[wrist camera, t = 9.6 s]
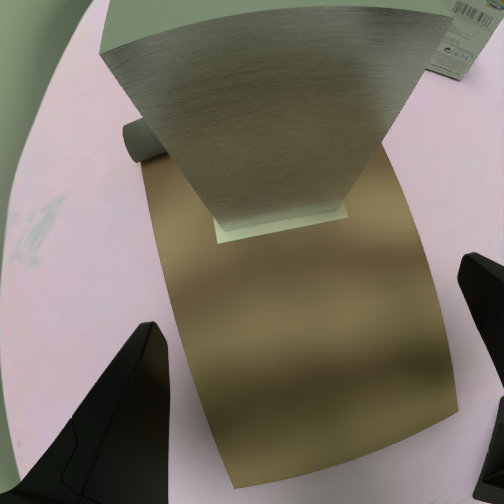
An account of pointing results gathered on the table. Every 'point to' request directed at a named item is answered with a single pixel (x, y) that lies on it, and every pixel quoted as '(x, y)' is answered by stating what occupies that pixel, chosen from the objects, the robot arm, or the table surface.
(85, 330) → the table surface
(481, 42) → the ink cartridge box
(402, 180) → the table surface
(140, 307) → the table surface
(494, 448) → the phone stand
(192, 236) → the walnut base leaf
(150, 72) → the brushed steel block
